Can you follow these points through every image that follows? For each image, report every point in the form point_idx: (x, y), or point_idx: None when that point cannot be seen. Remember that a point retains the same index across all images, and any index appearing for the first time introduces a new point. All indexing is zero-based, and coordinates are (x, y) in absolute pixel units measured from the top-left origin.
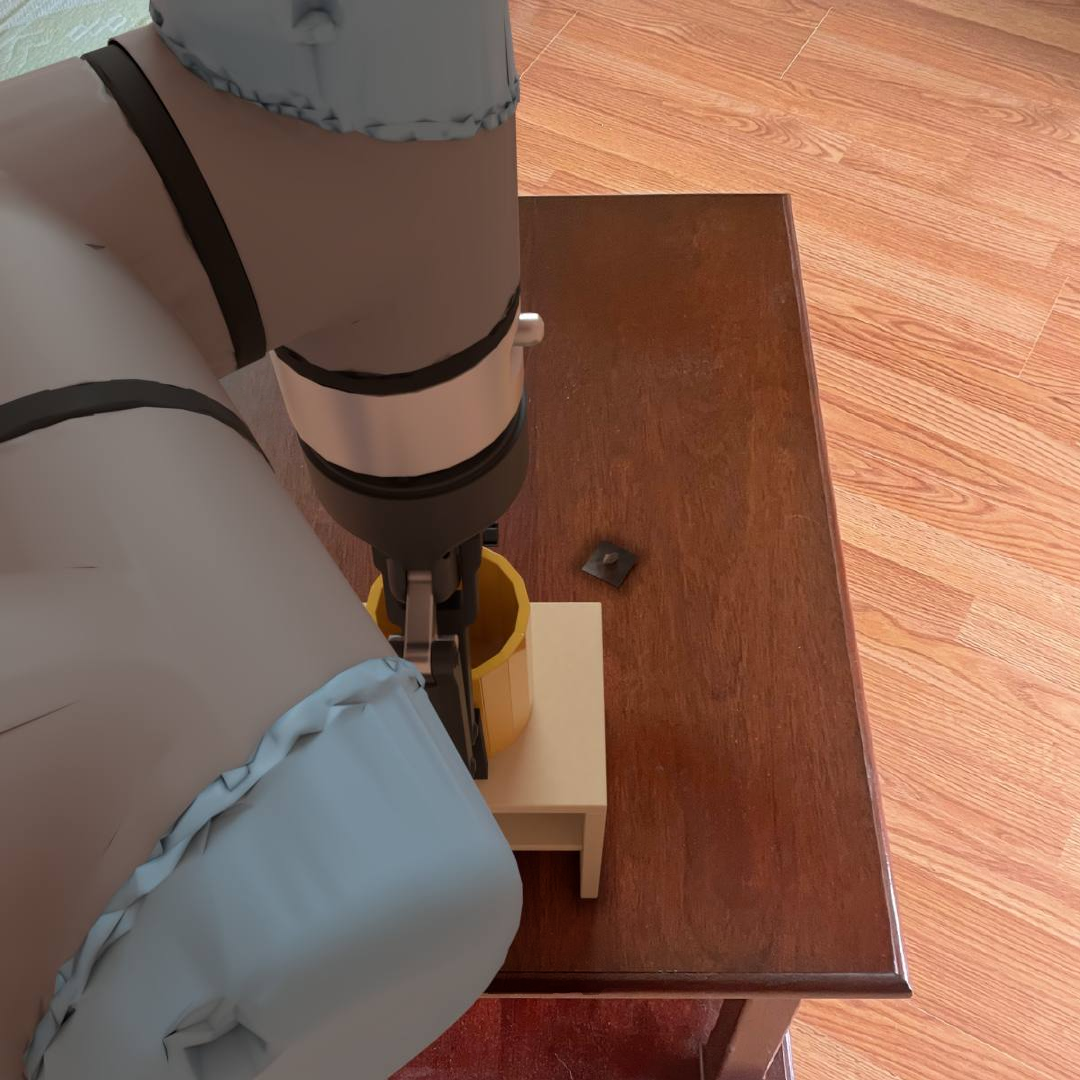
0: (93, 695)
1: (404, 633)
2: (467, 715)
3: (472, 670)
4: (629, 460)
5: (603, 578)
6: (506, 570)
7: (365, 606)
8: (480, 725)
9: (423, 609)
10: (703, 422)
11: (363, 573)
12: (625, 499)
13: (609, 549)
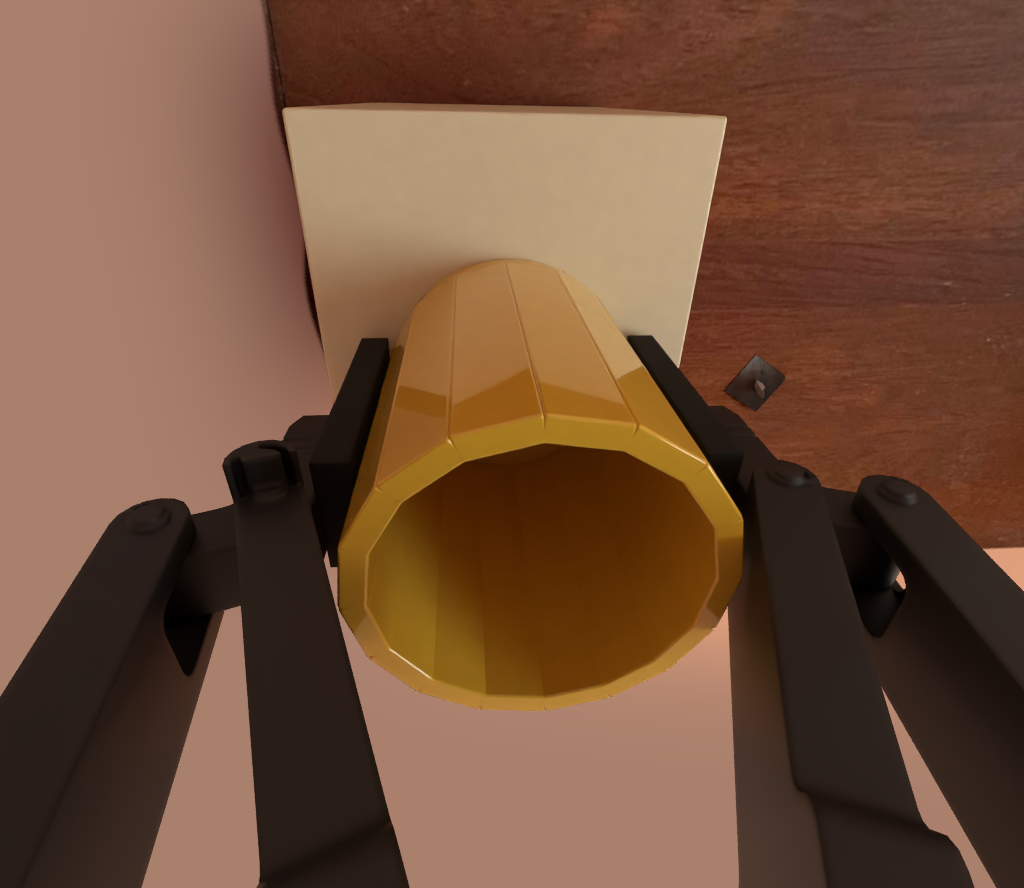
0: None
1: (262, 848)
2: (176, 764)
3: (383, 647)
4: (874, 403)
5: (738, 377)
6: (634, 676)
7: (705, 188)
8: None
9: None
10: (891, 470)
11: (828, 66)
12: (827, 398)
13: (771, 384)
